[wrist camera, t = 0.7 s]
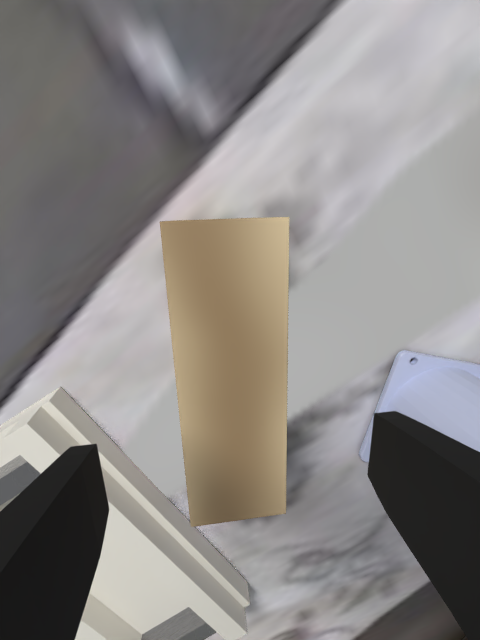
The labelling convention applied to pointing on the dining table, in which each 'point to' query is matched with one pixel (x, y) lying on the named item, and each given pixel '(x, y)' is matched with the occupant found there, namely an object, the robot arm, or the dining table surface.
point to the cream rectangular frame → (129, 538)
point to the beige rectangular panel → (230, 362)
